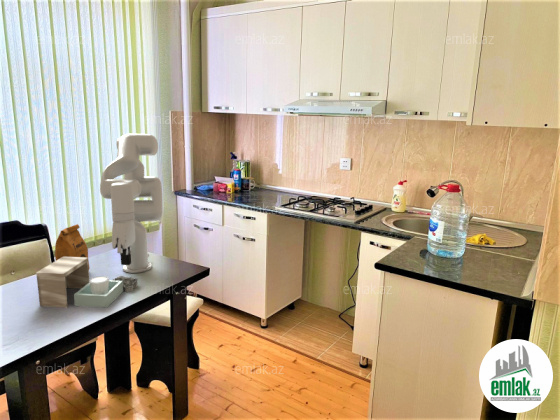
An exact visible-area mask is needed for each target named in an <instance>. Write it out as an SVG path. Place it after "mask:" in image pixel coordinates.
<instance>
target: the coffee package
mask: <svg viewBox="0 0 560 420" xmlns="http://www.w3.org/2000/svg"><path fill="white" fill-rule="evenodd" d="M79 229H80V225H79V224H78V223H77V224H74V225H71V226H68V227H66V228H64V229H62V230H60V232H59V235H58V237H57V238H56V242H55V245H54V255H55V261H56V260H58V259H60V258H62V257H84V258H88V266H89V270H90V262H89V249H88V245H87V243H86V240H85V239H84V238H83V237H82V234H81V233H80V231H79Z"/></svg>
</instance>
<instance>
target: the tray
mask: <svg viewBox="0 0 560 420" xmlns="http://www.w3.org/2000/svg"><path fill="white" fill-rule="evenodd" d="M123 293H124V290H123V281H114V280H113V279H112V280H111V279H110V280H109V288H108V292H107V293H106V294H105V295H98V294H92V293H91V288H90V283H88V284H87V285H85V286H84V287H83V288H79V290H78V291H76V292H75V293H73V298H74V299H73V300H74V306H75V307H88V308H89V307H92V308H93V307H94V308H108V307H109V306H110V305H111V304H112V303H113V302H114V301H115V300H116V299H117V298H119V297H120V296H121V294H123Z"/></svg>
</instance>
